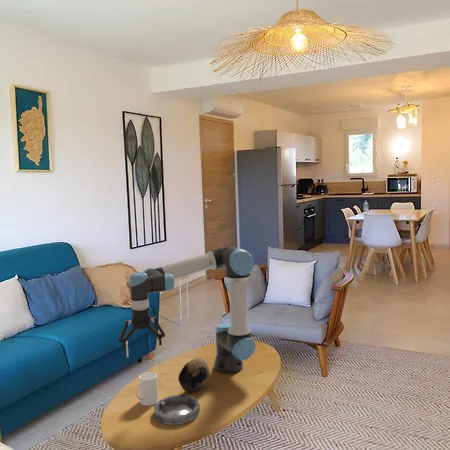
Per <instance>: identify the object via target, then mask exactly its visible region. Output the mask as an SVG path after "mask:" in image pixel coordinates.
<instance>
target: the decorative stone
mask: <svg viewBox="0 0 450 450" xmlns="http://www.w3.org/2000/svg"><path fill="white" fill-rule="evenodd" d="M210 374H211V373H210V366H209V363H208V362H207V361H206V359H204V358H202V357H195V358H193V359H191V360H189V361H188V362H186V364H184V365H183V367H182V368H181V370H180V372H179V374H178V377H177V378H178V383H179V385H180V386H181V387H182V389H183V391H185V392H186V393H194V392H196V391H198V390H200V389H201V388H202V387H203V385H204V383H205V382H206V381H207V380H208V379H209V378H210Z"/></svg>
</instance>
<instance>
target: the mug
mask: <svg viewBox="0 0 450 450" xmlns="http://www.w3.org/2000/svg"><path fill="white" fill-rule="evenodd" d="M138 380H139V381H138V382H139V384H138V385H137V387H136V390H135V395H136V398H137V399H138V400H139V403H140V404H141V405H142V406H145V407H148V406H150V407H151V406H155V405H156V404H157V402H158V401H159V400H160V398H159V387H158V386H159V385H158V374H157V373H156V372H152V371H148V372H147V371H146V372H142V373H141V374H139V376H138ZM138 392H139V393H138ZM139 395H140V396H139Z"/></svg>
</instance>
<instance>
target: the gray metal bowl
mask: <svg viewBox="0 0 450 450" xmlns="http://www.w3.org/2000/svg"><path fill="white" fill-rule="evenodd" d="M200 408H201V407H200V403H199V400H198V399H197V398H195V397H193V396H192V395H186V394H175V395H170V396H167V397H164V398H161V399H159V401H158V402H157V403H156V404H154V405H153V411H154V412H153V413H154V418H155V420H156V421H158V422H159V423H161V424H164V425H169V426H177V425H178V426H179V425H184V424H187V423H189V422H191V421H193V420H195V419H196V418H197V417H198V416H199V414H200V412H201V411H200V410H201V409H200Z"/></svg>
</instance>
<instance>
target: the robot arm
mask: <svg viewBox="0 0 450 450" xmlns="http://www.w3.org/2000/svg"><path fill="white" fill-rule="evenodd" d="M254 264H255V263H254V257H253V256H252V254H251V253H250V252H249V251H247V250H246V249H243V248H240V247H235V246H232V245H231V246H229V245H227V246H222V247H218V248H215V249H213V250H212V249H211V250H209V251H207V253H206V254H202V255H198V256H195V257H191V258H188V259H184V260H181V261H177V262H174V263H171V264H167V265H164V266H160V267H156V268H152V267H148V268H146V269H145V270H143V271H142V272H140V271H139V272H135V273H134V272H133V273H132V274H130V276H129V288H130V289H129V290H130V303H131V305H130V307H131V320H130V319H125V320H124V326H123V328H122V330H121V333H120V335H119V338H118V343H122V347H123V350H124V351H126V358H129V345H128V344H129V343H128V342H129V341H128V340H129V339H130V338H131V336H132V335H133V334H134V333H135V331H136V330H145V329H148V330H149V331H150V332H151V333H153V334H154V335H155V336H156V346H157V347H156V351H157V354H158V355H159V354H160V352H161V351H160V346H162V344H163V343H162V339H163V338H165V337H166V334H165V331H164V330H163V328H162V326H161V325H160V323H159V322H158V318H157V316H156V315H155V316H153V317H150V308H149V307H150V302H149V300H150V299H149V294H155V293H161V292H162V293H163V292H168V291H171V290H174V288H175V285H176V284H175V280H177V279H181V278H184V277H187V276H190V275H194V274H197V273H201V272H205V271H207V270H211V269H212V270H213V271H215V270H217V269H218V270H219V269H225V277H226V279H228V284H229V285H228V286H229V287H228V289H229V314H230V322H226V323H221V324H217V326H216V327H215V341H216V342H215V344H216V347H215V348H216V355H215V359H214V362H213V369H214V370H215V372H218V373H221V374H222V373H223V374H232V373H233V374H234V373H238V372H240V371H241V370H242V369H243V367H244V362H243V361H247V360H249V359H250V358H251V357H252V356H253V355H254V353H255V352H256V345H257V344H256V342H255V341H254V339H253V338H252V329H251V328H250V327H249V319H248V318H249V315H248V314H249V311H248V308H249V307H248V279H249V278H250V277H251V272H252V270H253V268H254V266H255V265H254ZM151 322H152V323H154V325H155V326H156V328H157V329H158V331H157V330H156V329H155V328H154V327H153V326H152V325H151V324H150V323H151ZM130 325H132V327H130V330H129V331H128V333H126V332H127V330H128V327H129V326H130Z"/></svg>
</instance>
